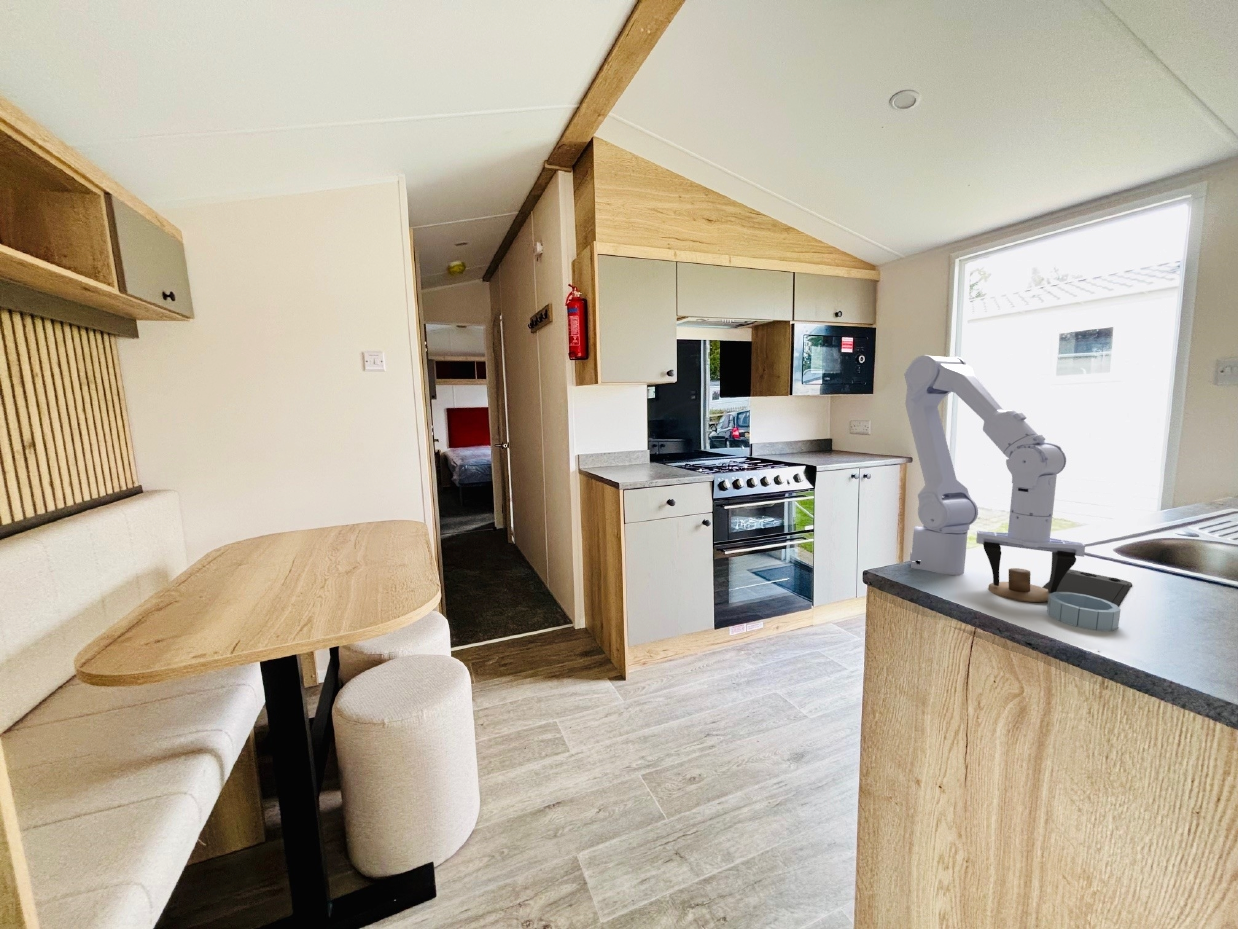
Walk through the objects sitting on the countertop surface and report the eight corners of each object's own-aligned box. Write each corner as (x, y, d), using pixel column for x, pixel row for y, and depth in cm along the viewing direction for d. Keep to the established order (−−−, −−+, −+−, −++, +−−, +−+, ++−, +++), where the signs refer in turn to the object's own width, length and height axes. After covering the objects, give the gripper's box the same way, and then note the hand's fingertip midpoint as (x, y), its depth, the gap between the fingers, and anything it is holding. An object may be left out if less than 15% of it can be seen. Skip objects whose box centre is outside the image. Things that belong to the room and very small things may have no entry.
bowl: (1051, 626, 77) (1053, 604, 77) (1043, 608, 84) (1045, 588, 83) (1123, 639, 73) (1126, 616, 72) (1109, 620, 79) (1111, 599, 79)
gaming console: (1063, 566, 101) (1134, 580, 94) (1063, 572, 101) (1133, 587, 94) (1033, 593, 86) (1113, 612, 78) (1032, 600, 86) (1112, 620, 79)
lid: (990, 597, 87) (990, 574, 87) (986, 583, 95) (986, 561, 94) (1056, 605, 82) (1056, 580, 82) (1047, 589, 90) (1047, 566, 89)
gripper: (980, 512, 87) (973, 586, 89) (1092, 523, 79) (1083, 605, 81) (978, 505, 93) (972, 575, 95) (1083, 515, 85) (1074, 591, 87)
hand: (1023, 588), depth 88 cm, fingers open, 7 cm apart
